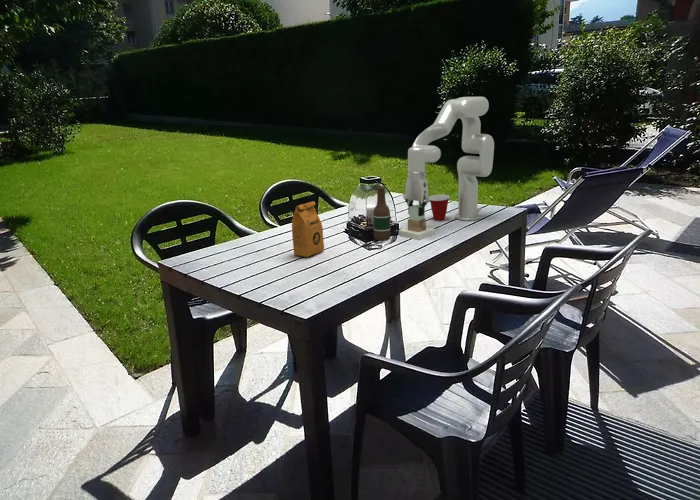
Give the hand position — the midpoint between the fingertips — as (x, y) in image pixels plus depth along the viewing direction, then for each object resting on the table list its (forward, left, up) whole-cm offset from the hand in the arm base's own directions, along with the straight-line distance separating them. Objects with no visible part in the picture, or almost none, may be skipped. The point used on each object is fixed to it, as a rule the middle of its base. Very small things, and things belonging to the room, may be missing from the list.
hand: (416, 214), depth 233 cm
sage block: (-1, 0, -2) cm, 2 cm away
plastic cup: (-30, -9, -10) cm, 32 cm away
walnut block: (-1, 0, -7) cm, 7 cm away
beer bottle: (+13, -9, -10) cm, 19 cm away
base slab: (-1, 0, -10) cm, 10 cm away
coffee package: (+49, -18, -10) cm, 54 cm away
